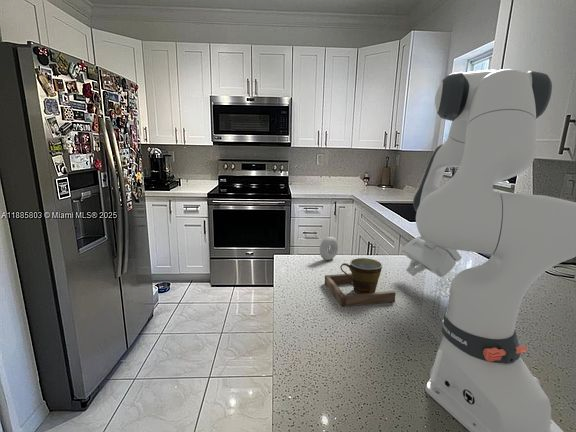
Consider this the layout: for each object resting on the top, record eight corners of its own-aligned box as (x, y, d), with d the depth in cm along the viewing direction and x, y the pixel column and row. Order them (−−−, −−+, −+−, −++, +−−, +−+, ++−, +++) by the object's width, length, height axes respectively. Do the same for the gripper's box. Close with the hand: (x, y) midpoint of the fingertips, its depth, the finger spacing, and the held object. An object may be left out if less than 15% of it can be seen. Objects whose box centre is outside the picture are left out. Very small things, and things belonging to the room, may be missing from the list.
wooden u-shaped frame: (394, 301, 97) (395, 292, 97) (342, 306, 94) (342, 297, 93) (370, 279, 113) (371, 271, 112) (324, 283, 109) (324, 275, 109)
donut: (333, 256, 137) (334, 233, 134) (339, 258, 134) (340, 235, 132) (317, 261, 130) (318, 238, 128) (323, 263, 128) (324, 240, 126)
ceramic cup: (378, 287, 107) (381, 259, 105) (381, 301, 97) (383, 270, 95) (340, 283, 110) (341, 256, 107) (338, 296, 100) (339, 266, 98)
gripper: (414, 229, 115) (388, 256, 115) (454, 247, 95) (422, 280, 96) (424, 240, 117) (398, 267, 117) (465, 260, 97) (434, 292, 98)
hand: (409, 273), depth 106 cm, fingers closed
